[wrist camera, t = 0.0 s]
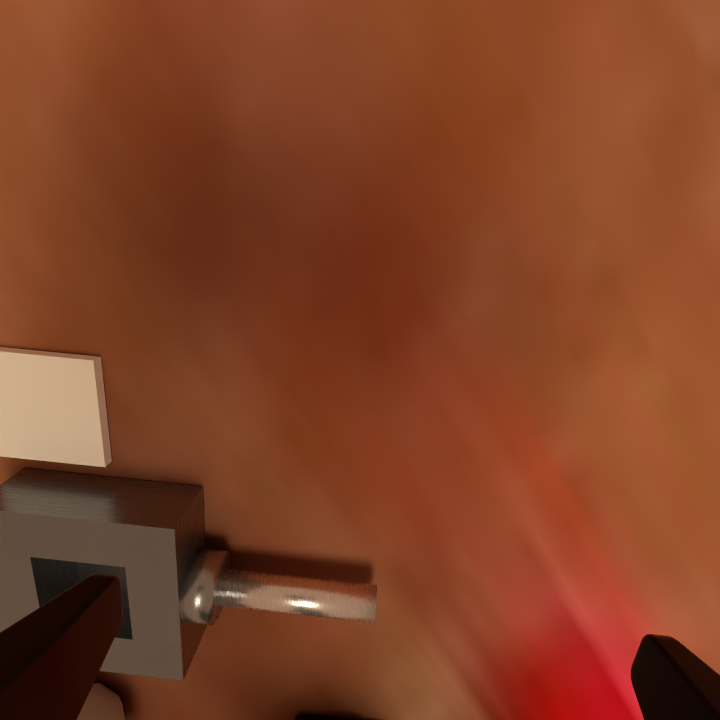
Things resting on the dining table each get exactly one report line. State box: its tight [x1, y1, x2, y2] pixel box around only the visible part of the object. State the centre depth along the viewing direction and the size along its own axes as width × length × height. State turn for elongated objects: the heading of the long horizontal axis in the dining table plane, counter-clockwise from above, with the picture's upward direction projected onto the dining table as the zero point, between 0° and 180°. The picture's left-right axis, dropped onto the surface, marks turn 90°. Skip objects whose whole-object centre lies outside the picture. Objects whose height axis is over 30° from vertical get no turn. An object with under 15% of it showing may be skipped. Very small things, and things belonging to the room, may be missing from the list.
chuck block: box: [0, 468, 377, 680], centre depth 24 cm, size 10×20×4 cm, turn 85°
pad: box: [0, 347, 112, 467], centre depth 23 cm, size 6×6×1 cm
